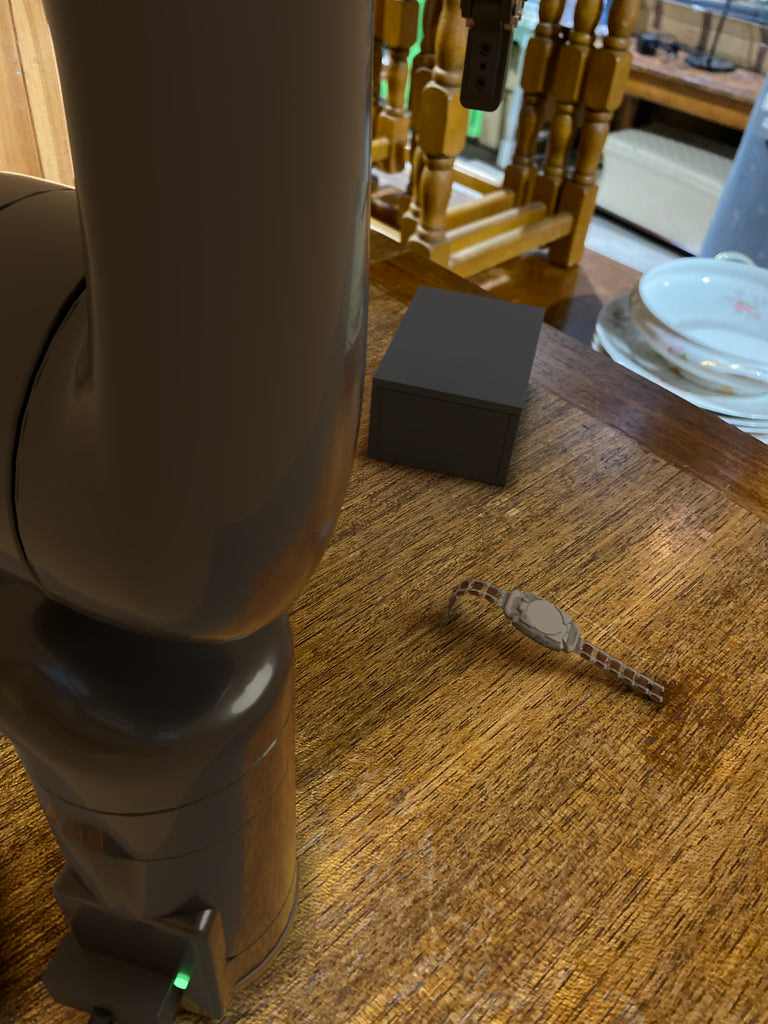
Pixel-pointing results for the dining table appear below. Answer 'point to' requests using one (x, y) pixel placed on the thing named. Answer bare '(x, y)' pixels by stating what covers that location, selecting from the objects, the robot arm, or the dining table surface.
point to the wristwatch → (552, 630)
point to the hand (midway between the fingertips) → (480, 107)
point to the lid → (463, 350)
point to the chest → (441, 435)
